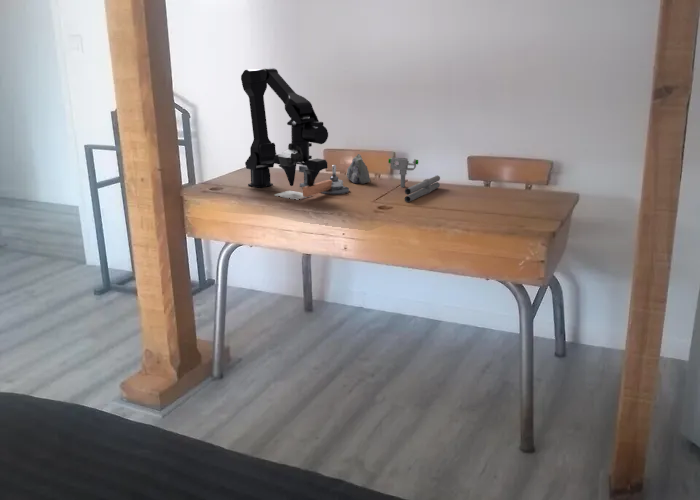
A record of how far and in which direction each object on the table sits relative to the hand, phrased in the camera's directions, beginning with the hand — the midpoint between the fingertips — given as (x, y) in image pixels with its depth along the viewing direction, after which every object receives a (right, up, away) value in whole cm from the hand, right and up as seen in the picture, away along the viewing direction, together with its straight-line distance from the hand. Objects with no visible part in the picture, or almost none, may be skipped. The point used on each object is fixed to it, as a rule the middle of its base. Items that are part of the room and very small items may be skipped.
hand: (300, 187), depth 231 cm
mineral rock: (+20, +5, +25) cm, 32 cm away
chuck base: (+11, -1, +7) cm, 13 cm away
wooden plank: (+7, -1, +1) cm, 7 cm away
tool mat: (-2, -3, 0) cm, 4 cm away
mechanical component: (+35, +1, +15) cm, 38 cm away
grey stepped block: (+2, +2, +15) cm, 15 cm away
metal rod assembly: (+41, -2, +4) cm, 41 cm away
